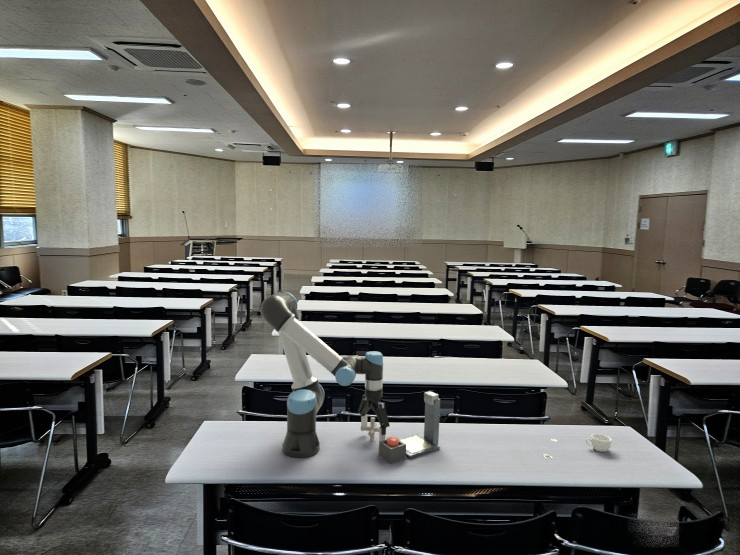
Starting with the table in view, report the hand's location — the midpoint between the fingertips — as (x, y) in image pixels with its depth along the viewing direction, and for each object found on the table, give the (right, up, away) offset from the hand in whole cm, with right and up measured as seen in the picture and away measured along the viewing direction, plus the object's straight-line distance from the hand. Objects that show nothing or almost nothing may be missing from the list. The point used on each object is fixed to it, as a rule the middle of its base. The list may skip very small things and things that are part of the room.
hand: (372, 435), depth 210 cm
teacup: (+96, -5, -2) cm, 96 cm away
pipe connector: (0, -2, 0) cm, 2 cm away
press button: (+8, +1, -15) cm, 17 cm away
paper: (+75, -6, -6) cm, 75 cm away
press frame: (+18, -3, -5) cm, 19 cm away
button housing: (+8, -4, -15) cm, 17 cm away
